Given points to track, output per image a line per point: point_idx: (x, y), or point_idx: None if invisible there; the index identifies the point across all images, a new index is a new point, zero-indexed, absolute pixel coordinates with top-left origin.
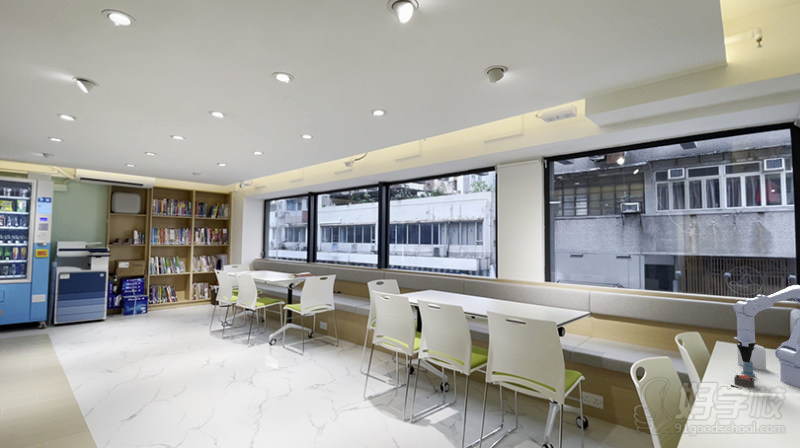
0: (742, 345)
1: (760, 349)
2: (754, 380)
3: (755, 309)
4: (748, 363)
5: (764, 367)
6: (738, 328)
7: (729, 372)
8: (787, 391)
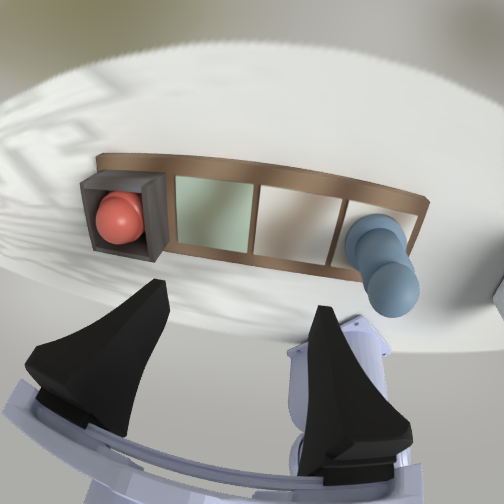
0: (20, 382)
1: None
2: (268, 253)
3: None
4: (370, 292)
5: (500, 311)
6: None
7: (430, 161)
8: (239, 324)
